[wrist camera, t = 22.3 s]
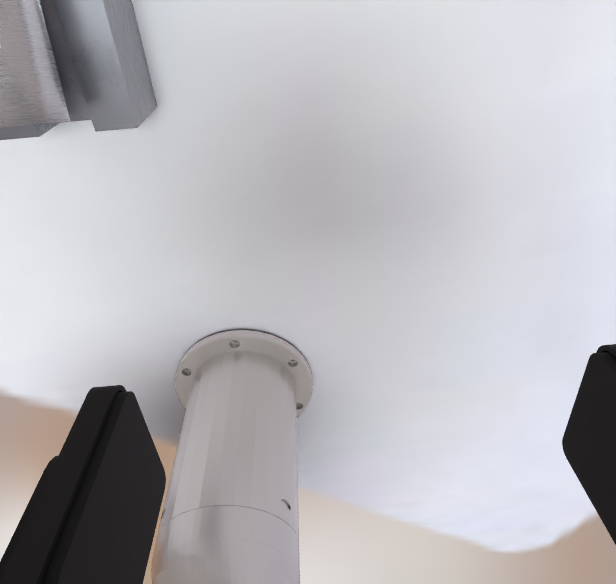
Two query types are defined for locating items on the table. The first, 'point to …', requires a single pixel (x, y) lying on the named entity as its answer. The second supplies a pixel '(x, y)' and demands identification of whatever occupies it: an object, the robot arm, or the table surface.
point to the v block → (96, 65)
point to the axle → (28, 68)
